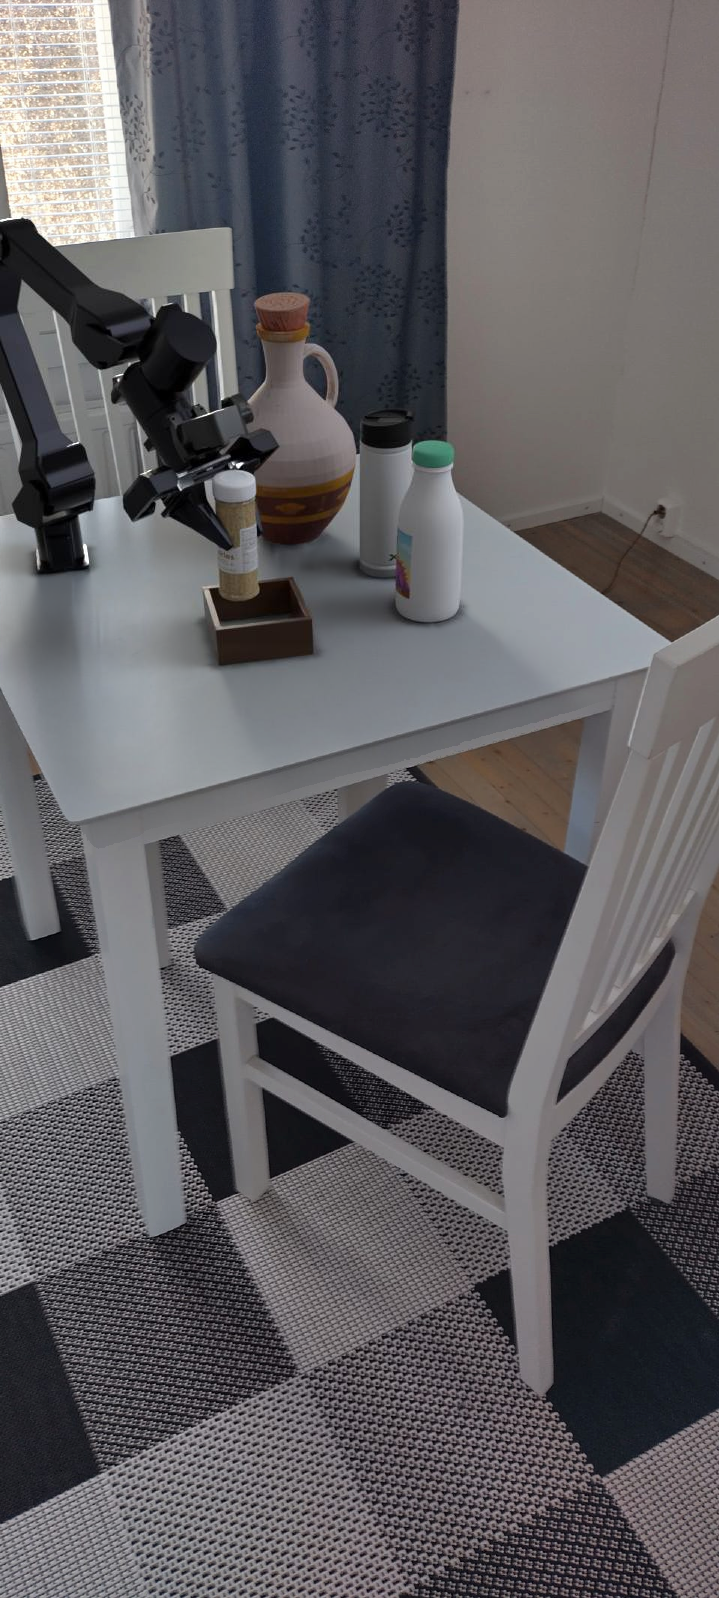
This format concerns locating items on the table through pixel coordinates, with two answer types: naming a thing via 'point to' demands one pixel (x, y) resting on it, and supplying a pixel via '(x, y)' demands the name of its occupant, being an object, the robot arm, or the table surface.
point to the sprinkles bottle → (237, 534)
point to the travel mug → (383, 486)
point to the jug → (297, 429)
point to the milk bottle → (429, 538)
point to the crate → (262, 636)
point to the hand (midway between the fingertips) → (245, 542)
